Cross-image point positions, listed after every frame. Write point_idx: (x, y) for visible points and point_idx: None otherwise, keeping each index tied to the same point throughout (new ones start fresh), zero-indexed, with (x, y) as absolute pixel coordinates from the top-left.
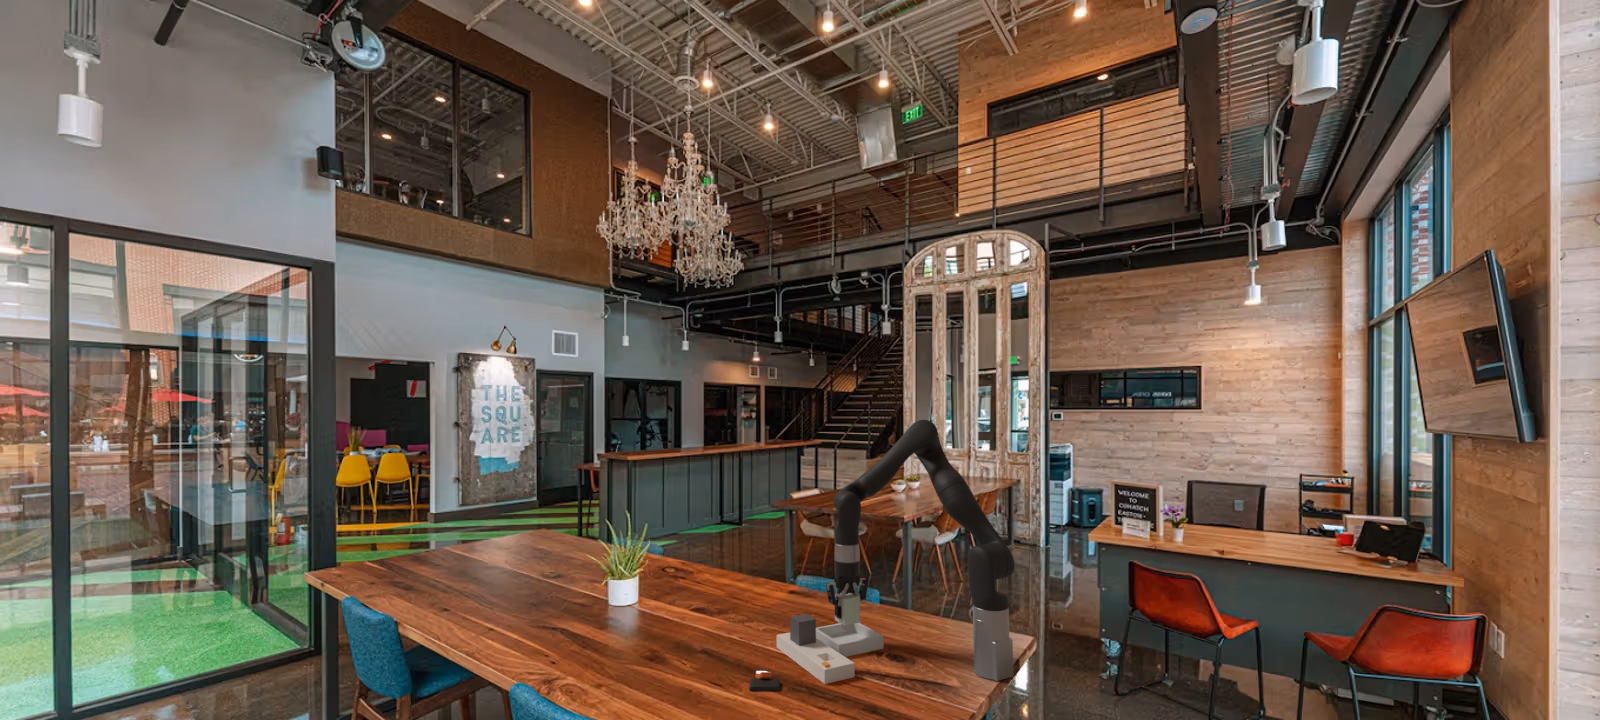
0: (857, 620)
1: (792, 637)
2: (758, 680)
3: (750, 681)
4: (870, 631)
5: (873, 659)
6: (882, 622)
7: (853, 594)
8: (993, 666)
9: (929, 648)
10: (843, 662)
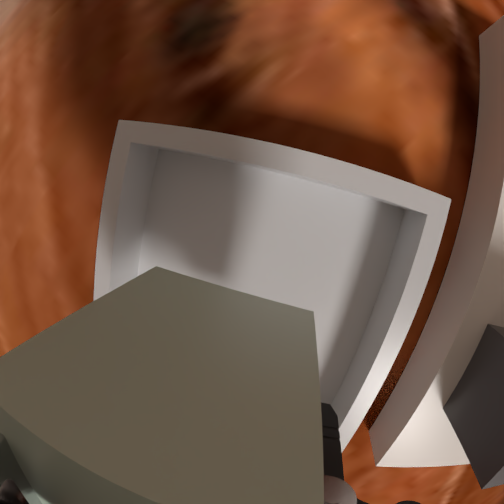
0: (170, 279)
1: None
2: None
3: None
4: (116, 230)
5: (297, 65)
6: (14, 330)
7: (27, 482)
8: None
9: (51, 50)
10: None
